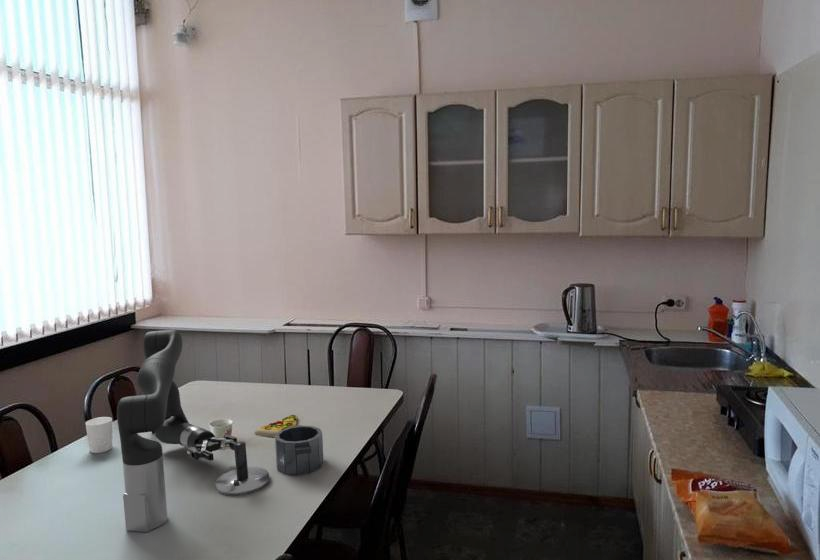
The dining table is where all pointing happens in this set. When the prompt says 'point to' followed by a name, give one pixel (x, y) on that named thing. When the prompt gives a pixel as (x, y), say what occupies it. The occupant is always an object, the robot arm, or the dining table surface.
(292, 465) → the pot
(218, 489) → the lid
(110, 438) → the white cup
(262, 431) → the pizza slice
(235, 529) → the dining table surface
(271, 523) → the dining table surface
